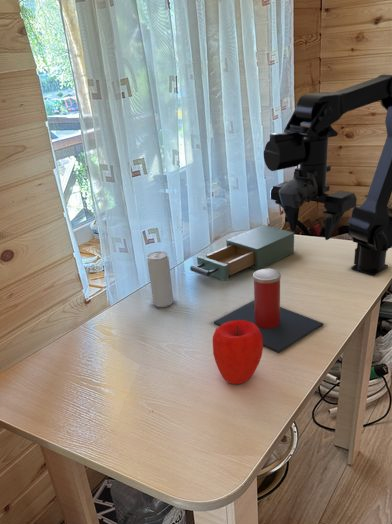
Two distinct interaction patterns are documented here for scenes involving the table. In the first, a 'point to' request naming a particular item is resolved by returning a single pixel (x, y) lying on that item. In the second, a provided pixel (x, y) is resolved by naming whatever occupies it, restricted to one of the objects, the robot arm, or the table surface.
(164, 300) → the beverage can
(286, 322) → the mat
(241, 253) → the drawer
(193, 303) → the table surface
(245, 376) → the apple
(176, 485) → the table surface
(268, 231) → the cabinet
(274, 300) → the tea tin
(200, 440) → the table surface
